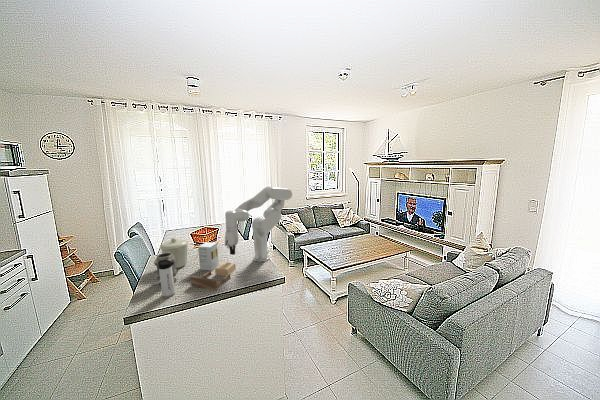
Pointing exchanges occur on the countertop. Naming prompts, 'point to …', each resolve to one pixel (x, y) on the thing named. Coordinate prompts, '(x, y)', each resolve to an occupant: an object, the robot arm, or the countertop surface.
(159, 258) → the apothecary jar
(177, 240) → the canister
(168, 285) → the travel mug
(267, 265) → the countertop surface
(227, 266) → the kraft carton
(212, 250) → the supplement box
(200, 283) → the stand
